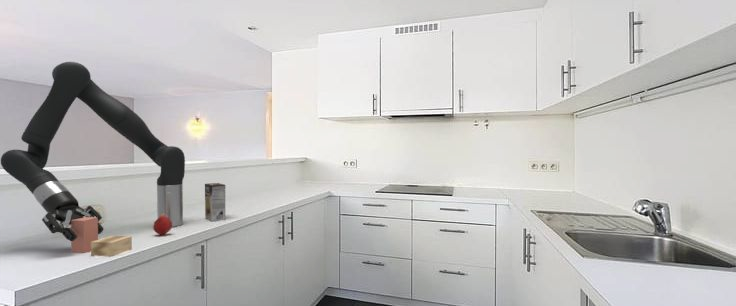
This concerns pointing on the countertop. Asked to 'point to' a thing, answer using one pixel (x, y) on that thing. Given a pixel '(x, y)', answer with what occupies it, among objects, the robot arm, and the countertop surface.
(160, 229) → the onion
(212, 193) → the coffee box
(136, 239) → the countertop surface
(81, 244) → the red pillar block
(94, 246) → the oak base block
